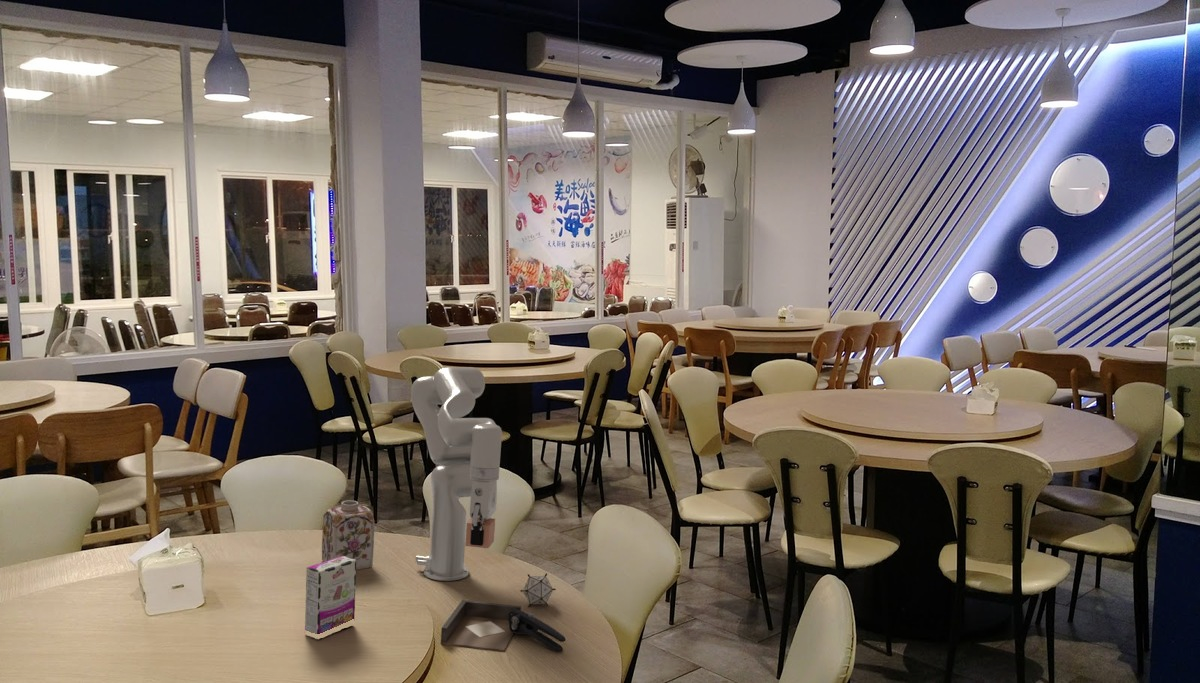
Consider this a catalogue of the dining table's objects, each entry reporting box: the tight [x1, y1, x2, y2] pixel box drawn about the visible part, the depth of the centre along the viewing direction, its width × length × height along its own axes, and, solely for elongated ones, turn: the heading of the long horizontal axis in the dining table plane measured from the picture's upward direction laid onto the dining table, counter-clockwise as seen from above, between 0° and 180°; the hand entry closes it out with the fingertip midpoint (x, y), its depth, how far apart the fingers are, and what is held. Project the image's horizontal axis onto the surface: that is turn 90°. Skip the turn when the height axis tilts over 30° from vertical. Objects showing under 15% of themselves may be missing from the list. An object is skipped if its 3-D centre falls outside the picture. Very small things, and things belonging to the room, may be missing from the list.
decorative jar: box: [321, 500, 375, 570], centre depth 254 cm, size 12×12×18 cm
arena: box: [440, 599, 522, 652], centre depth 214 cm, size 15×18×4 cm
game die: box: [519, 572, 557, 608], centre depth 234 cm, size 9×8×10 cm
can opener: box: [508, 608, 566, 652], centre depth 212 cm, size 18×7×6 cm, turn 48°
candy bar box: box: [304, 556, 357, 634], centre depth 209 cm, size 11×5×16 cm, turn 148°
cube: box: [465, 517, 496, 549], centre depth 230 cm, size 6×6×6 cm
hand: (479, 540), depth 230 cm, fingers closed on cube, 5 cm apart
